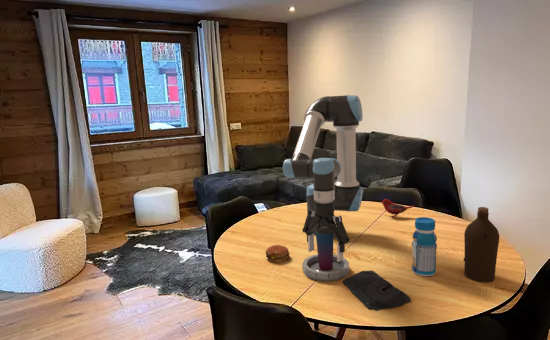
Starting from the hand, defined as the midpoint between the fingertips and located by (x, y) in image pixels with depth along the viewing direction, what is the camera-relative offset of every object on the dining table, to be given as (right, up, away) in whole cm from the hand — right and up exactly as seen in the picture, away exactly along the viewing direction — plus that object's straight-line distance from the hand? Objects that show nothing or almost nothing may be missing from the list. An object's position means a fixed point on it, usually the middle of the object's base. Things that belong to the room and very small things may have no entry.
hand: (325, 255), depth 141 cm
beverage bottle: (+36, -5, -3) cm, 36 cm away
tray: (0, -6, +1) cm, 6 cm away
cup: (0, -5, +1) cm, 5 cm away
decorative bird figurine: (+46, +7, +58) cm, 75 cm away
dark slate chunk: (+14, -9, -15) cm, 23 cm away
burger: (-18, -5, +15) cm, 24 cm away
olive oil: (+53, -6, -8) cm, 54 cm away
